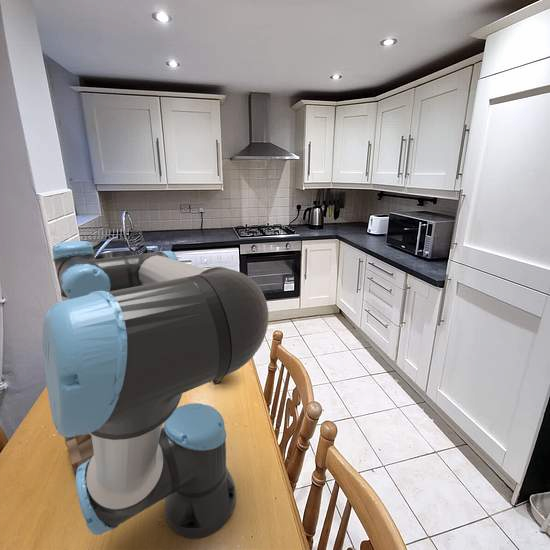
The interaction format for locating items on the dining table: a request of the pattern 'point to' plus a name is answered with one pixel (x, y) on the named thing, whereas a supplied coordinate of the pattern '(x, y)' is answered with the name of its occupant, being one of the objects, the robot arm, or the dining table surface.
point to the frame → (80, 452)
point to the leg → (78, 438)
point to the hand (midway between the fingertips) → (99, 394)
